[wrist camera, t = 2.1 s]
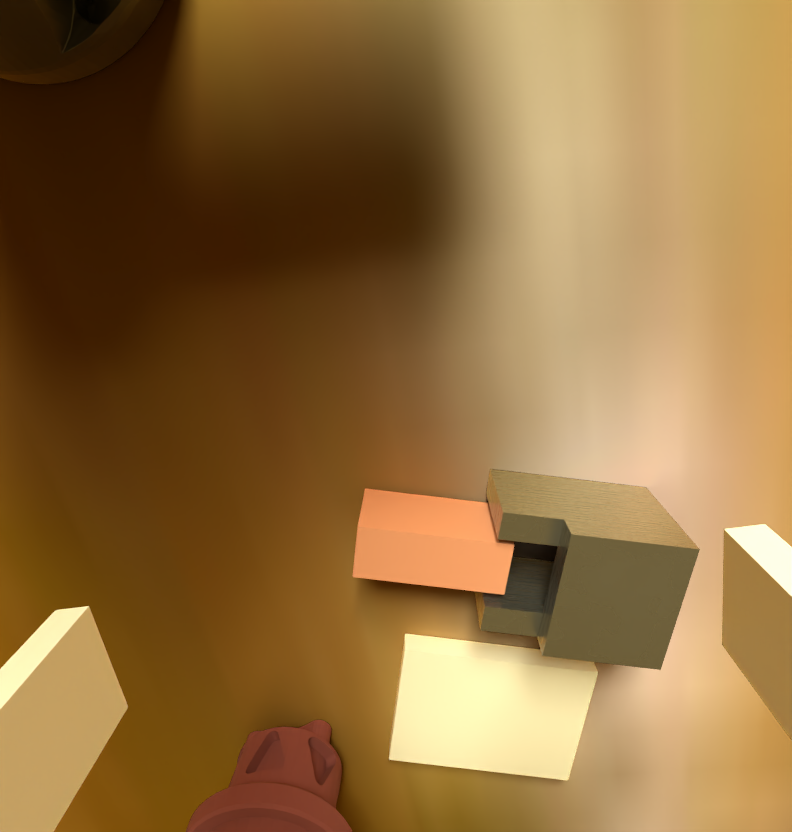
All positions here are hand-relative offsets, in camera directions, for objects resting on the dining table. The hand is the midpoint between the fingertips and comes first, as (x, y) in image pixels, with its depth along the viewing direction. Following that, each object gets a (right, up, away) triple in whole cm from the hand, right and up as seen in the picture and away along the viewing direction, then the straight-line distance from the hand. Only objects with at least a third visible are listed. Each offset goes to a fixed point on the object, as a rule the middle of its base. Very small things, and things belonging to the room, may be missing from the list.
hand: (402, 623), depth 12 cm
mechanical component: (-7, -19, +28) cm, 35 cm away
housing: (+9, -3, +22) cm, 24 cm away
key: (+2, -2, +22) cm, 22 cm away
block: (+6, -15, +26) cm, 31 cm away
